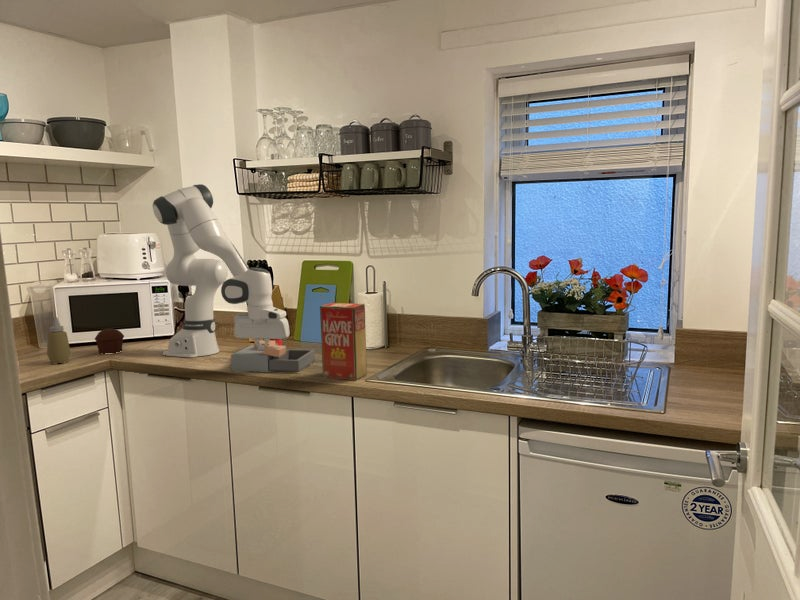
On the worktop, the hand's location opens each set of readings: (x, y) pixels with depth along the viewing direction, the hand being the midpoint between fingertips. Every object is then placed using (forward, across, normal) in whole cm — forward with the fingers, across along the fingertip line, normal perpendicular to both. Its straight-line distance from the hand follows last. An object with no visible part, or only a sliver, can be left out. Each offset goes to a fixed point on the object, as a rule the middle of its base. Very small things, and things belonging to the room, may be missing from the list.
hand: (262, 350), depth 223 cm
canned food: (+7, -10, +32) cm, 35 cm away
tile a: (+1, +4, 0) cm, 4 cm away
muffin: (+7, -78, +21) cm, 81 cm away
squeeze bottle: (+7, -86, +1) cm, 86 cm away
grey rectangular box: (+7, -4, +6) cm, 10 cm away
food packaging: (+7, +32, -5) cm, 34 cm away
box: (+7, +9, +6) cm, 13 cm away
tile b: (+1, -3, +8) cm, 9 cm away
